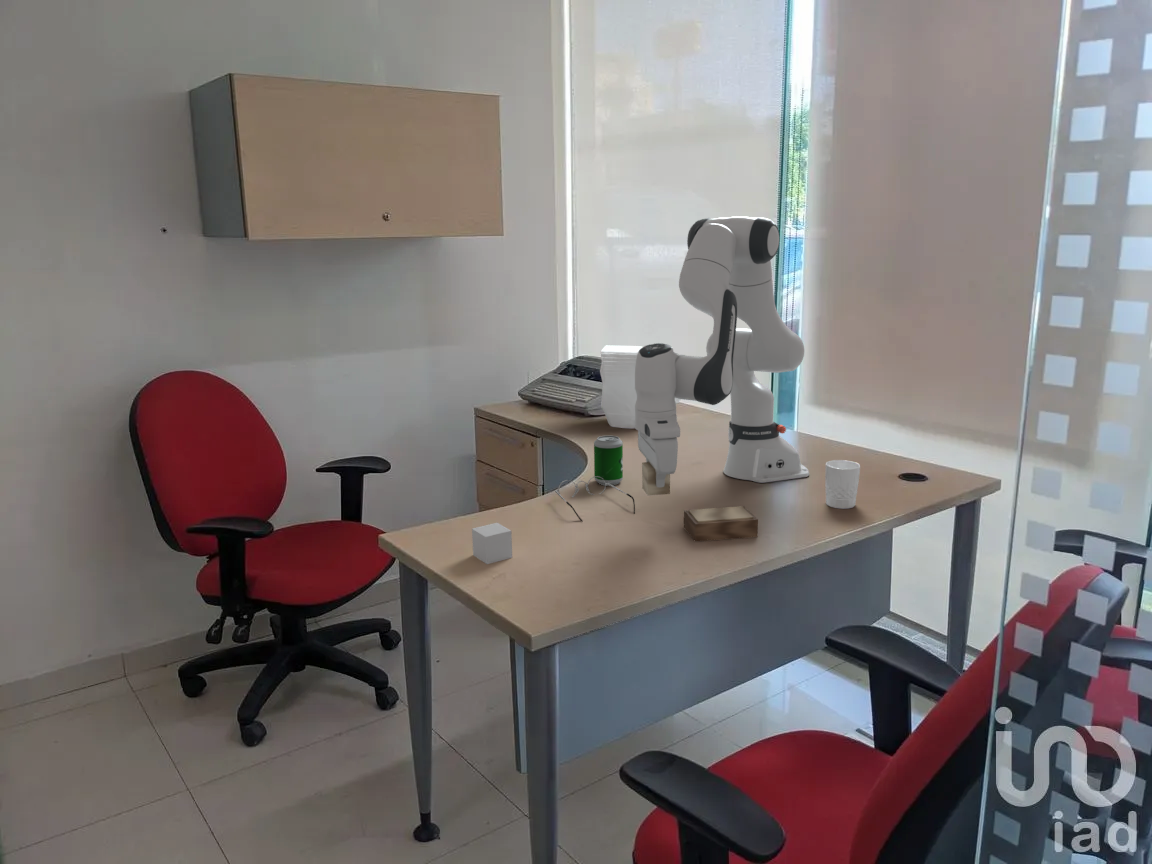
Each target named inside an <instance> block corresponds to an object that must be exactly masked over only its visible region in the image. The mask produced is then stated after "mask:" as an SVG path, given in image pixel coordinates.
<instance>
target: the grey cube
mask: <svg viewBox="0 0 1152 864" xmlns="http://www.w3.org/2000/svg"><path fill="white" fill-rule="evenodd" d="M471 538H472V540H471V541H472V556H474V557H475V558H477V559H478V560H480V561H481V562H483V563H485V565H489V564H494V563H497V562H501V561H504V560H505V561H506V560H508V559H511V558H513V544H512V543H513V540H512V539H513V538H512V530H511V529H509V528H507V527H506V526H504V525H502V524H501V523H499V522H494V523H489V524H486V525H481V526H477V527H474V528H473V527H472V528H471Z"/></svg>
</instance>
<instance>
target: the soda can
mask: <svg viewBox="0 0 1152 864" xmlns="http://www.w3.org/2000/svg"><path fill="white" fill-rule="evenodd" d="M623 443H624V442H623V441H622V440H621V439H620V437H619V436H617V435H602V436H601V435H600V436H598V437H597V438H596V440H594V442H593V454H594V455H593V459H594V461H593V462H594V463H593V464H594V465H593V467H594V468H593V470H594V476H593V477H594V478H593V479H594V480H595V481H596V482H597V484H598V483H599V485H600V484H601V485H600V486H605V483H609V484H611V485H613V486H617V485H619V484H620V483H621V482H622V481H623V479H624V478H623V477H624V474H623V472H624V469H623V467H624V465H623V461H624V457H623V456H624V455H623V448H624V447H623V446H624V445H623ZM595 476H599V477H595ZM600 477H601V478H600ZM602 478H603V479H604V480H603V479H602ZM604 481H605V482H604ZM606 486H609V487H611V486H610V485H606Z"/></svg>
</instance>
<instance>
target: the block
mask: <svg viewBox="0 0 1152 864" xmlns="http://www.w3.org/2000/svg"><path fill="white" fill-rule="evenodd" d="M641 475H642V477H641V479H642V480H641V481H642V482H641V483H642V484H641V485H642V488H641V489H642V490H643V492H644V493H645V494H646V496H648V497H651V496H663V495H670V494H671V474H666V477H665V485H664V487H657V486H656V485H655V478H656V472H655V469H654V467H653V466H652V465H651V464H650V462H646V461H645V462H641Z"/></svg>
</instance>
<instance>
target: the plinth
mask: <svg viewBox="0 0 1152 864" xmlns="http://www.w3.org/2000/svg"><path fill="white" fill-rule="evenodd" d="M683 528H684V530H685V531H686V532H687V534H688V535H689V536H690V537H691V539H692V540H693V541H694V543H697V542H710V541H721V540H734V539H735V540H736V539H747V538H758V532H759V519H758V518H757V517H756V516H755V515H754V514H753V513H752V512H751V510H749V509H748V508H747V507H746V506H745V505H742V506H741V505H740V506H728V507H727V506H726V507H724V506H723V507H713V508H712V507H711V508H699V509H698V508H697V509H685V510H683Z"/></svg>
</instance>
